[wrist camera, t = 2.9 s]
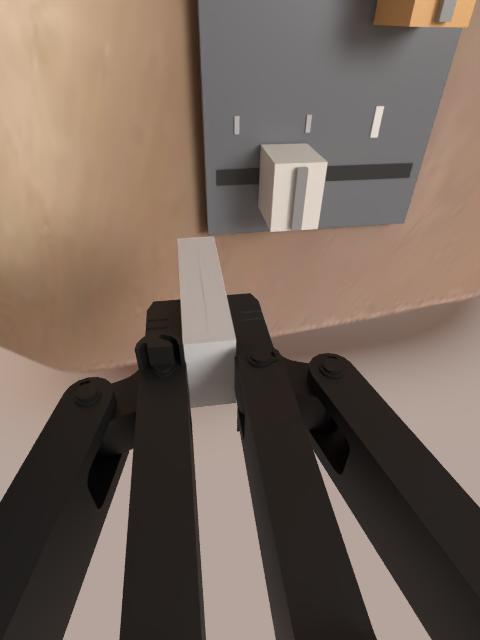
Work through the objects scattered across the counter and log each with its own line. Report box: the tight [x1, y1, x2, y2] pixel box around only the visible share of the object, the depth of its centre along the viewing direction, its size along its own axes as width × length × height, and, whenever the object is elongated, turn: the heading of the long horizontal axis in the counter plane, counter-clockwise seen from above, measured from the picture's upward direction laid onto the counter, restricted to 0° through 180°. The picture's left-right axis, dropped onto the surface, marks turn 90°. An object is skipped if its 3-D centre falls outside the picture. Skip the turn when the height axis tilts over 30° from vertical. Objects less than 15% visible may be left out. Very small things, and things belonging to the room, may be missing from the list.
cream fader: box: [258, 143, 328, 232], centre depth 24 cm, size 3×4×4 cm
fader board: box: [197, 0, 462, 235], centre depth 23 cm, size 15×19×1 cm
